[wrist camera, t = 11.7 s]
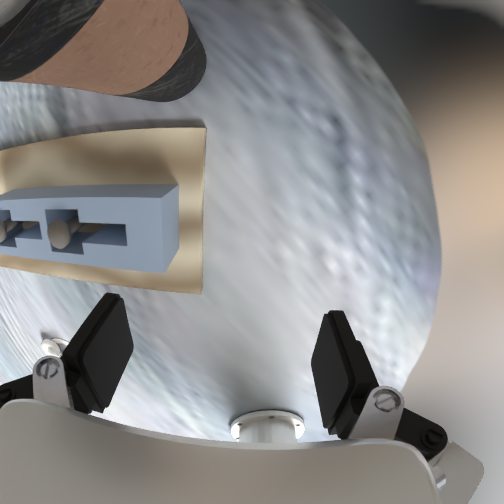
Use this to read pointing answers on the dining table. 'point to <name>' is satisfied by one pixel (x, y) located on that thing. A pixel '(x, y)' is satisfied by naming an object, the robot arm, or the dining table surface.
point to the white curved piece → (53, 346)
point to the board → (114, 172)
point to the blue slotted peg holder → (97, 211)
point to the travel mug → (102, 46)
